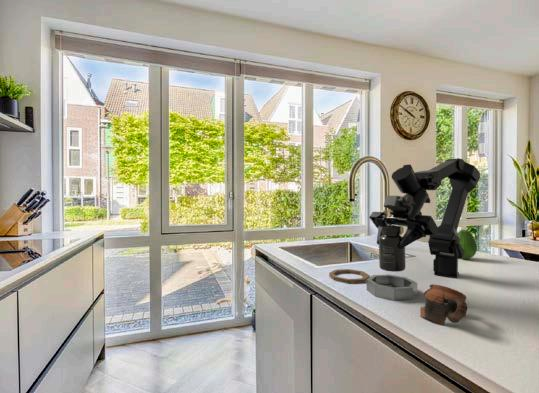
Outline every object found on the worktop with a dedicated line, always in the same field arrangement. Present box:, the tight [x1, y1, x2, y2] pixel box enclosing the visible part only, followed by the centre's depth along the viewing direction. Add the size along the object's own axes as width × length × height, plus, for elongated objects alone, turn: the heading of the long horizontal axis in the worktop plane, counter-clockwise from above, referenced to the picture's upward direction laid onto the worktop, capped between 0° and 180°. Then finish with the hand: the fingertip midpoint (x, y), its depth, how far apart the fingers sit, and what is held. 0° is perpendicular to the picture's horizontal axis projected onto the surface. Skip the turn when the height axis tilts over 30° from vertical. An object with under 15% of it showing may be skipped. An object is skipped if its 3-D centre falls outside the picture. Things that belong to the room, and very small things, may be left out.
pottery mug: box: [419, 283, 469, 326], centre depth 67 cm, size 12×10×8 cm
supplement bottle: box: [378, 225, 406, 273], centre depth 84 cm, size 7×7×12 cm
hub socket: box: [366, 274, 418, 301], centre depth 84 cm, size 12×12×3 cm
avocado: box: [457, 229, 478, 260], centre depth 122 cm, size 8×8×12 cm
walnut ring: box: [328, 268, 371, 284], centre depth 98 cm, size 12×12×1 cm
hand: (388, 245), depth 84 cm, fingers closed on supplement bottle, 7 cm apart
